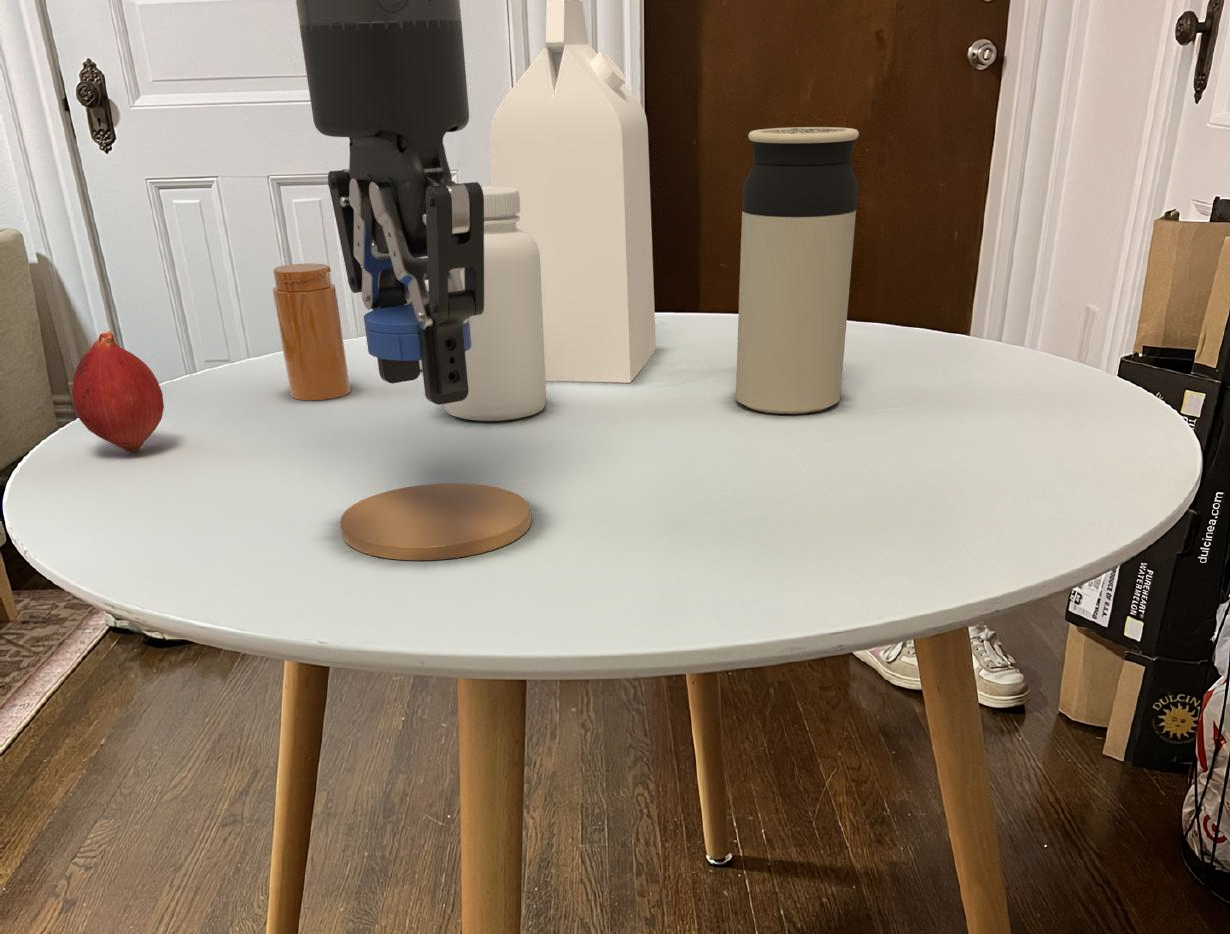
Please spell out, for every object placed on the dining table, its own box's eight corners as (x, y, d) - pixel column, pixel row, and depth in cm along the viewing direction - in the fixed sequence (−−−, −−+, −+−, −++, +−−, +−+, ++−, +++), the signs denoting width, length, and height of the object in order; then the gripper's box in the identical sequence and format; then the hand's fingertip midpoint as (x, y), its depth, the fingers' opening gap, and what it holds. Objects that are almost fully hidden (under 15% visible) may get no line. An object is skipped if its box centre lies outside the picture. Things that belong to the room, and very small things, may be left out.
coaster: (388, 576, 61) (386, 562, 61) (314, 519, 69) (312, 506, 68) (566, 533, 66) (565, 519, 66) (478, 484, 74) (477, 471, 73)
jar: (301, 403, 92) (280, 274, 87) (283, 391, 95) (261, 266, 90) (358, 394, 94) (341, 268, 89) (338, 383, 97) (320, 260, 92)
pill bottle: (568, 410, 88) (558, 188, 80) (478, 430, 84) (458, 198, 76) (511, 391, 93) (497, 181, 85) (425, 408, 90) (401, 190, 81)
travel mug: (845, 415, 85) (870, 132, 75) (737, 416, 86) (748, 135, 76) (833, 388, 92) (854, 125, 82) (733, 389, 92) (742, 128, 82)
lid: (451, 362, 59) (447, 325, 58) (351, 360, 60) (345, 323, 59) (485, 338, 64) (482, 303, 63) (391, 336, 65) (387, 302, 64)
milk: (533, 348, 107) (513, 5, 92) (655, 350, 105) (654, -1, 90) (496, 379, 97) (467, 1, 83) (630, 382, 95) (624, -5, 80)
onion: (88, 468, 79) (54, 344, 74) (88, 446, 83) (55, 328, 79) (177, 457, 80) (148, 335, 76) (172, 436, 85) (144, 319, 80)
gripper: (525, 7, 50) (548, 406, 60) (392, 19, 60) (429, 358, 70) (364, 9, 47) (415, 431, 56) (252, 21, 57) (311, 377, 67)
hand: (423, 389), depth 63 cm, fingers closed on lid, 5 cm apart
